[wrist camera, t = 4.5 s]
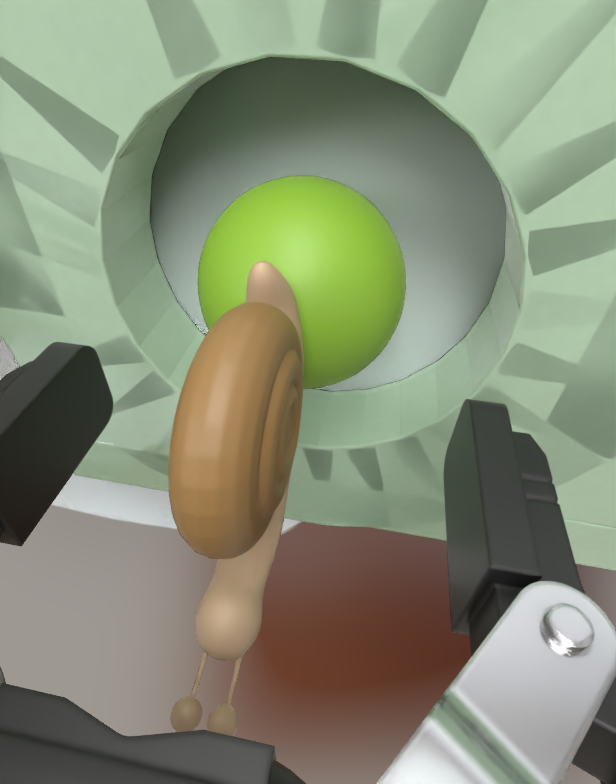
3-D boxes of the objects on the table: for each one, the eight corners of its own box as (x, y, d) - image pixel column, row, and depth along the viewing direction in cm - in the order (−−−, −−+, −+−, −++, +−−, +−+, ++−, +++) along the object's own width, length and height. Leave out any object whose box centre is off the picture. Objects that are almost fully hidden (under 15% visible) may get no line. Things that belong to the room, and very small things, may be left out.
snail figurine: (244, 333, 17) (59, 707, 8) (224, 143, 13) (-202, 505, 4) (391, 349, 16) (356, 777, 8) (422, 154, 12) (426, 622, 3)
